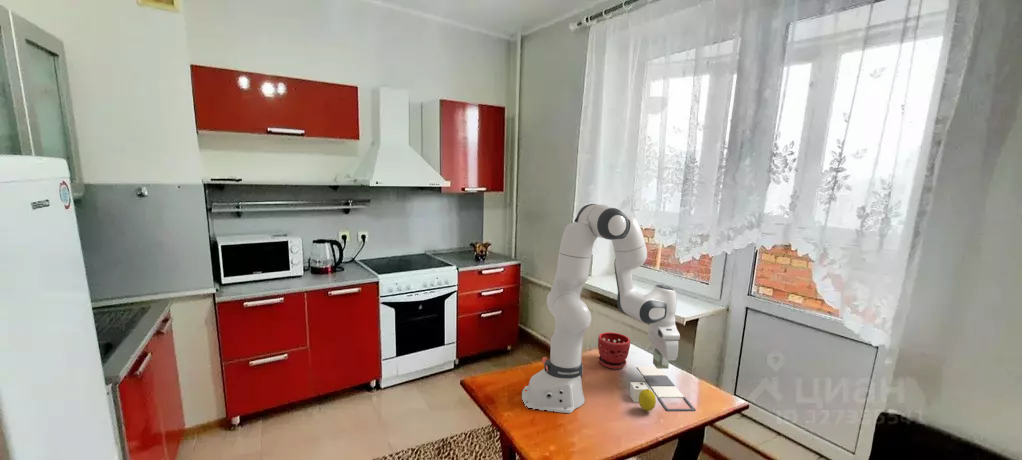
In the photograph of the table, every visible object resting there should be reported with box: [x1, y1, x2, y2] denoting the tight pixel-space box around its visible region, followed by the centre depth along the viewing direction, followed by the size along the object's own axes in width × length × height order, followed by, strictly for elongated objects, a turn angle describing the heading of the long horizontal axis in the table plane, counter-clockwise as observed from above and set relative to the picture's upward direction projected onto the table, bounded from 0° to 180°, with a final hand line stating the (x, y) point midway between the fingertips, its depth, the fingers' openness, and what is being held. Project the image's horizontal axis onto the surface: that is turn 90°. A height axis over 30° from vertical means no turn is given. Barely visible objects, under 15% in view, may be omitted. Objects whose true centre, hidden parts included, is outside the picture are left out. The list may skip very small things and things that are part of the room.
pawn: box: [652, 349, 670, 370], centre depth 158 cm, size 4×4×9 cm
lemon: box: [638, 388, 657, 412], centre depth 139 cm, size 6×6×8 cm
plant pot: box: [597, 331, 631, 370], centre depth 173 cm, size 13×13×12 cm
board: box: [636, 366, 696, 412], centre depth 156 cm, size 10×32×1 cm, turn 1°
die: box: [629, 381, 649, 403], centre depth 147 cm, size 5×5×5 cm
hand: (660, 360), depth 159 cm, fingers closed on pawn, 4 cm apart
